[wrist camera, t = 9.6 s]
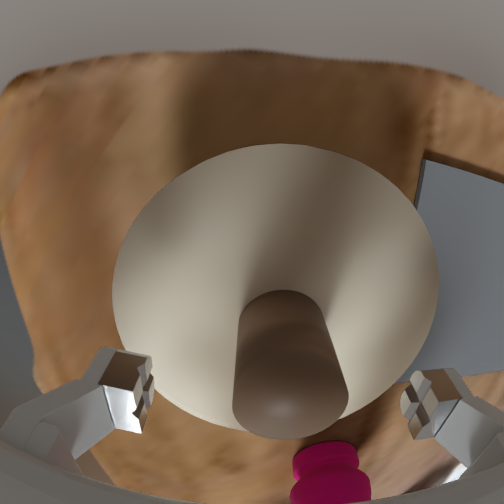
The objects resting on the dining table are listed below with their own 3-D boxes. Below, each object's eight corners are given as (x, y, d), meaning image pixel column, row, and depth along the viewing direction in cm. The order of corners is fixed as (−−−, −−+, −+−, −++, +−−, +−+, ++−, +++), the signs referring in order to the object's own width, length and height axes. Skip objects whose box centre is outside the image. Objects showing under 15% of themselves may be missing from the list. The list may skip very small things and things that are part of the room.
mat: (560, 207, 17) (564, 208, 16) (500, 367, 22) (503, 370, 22) (422, 158, 16) (426, 159, 16) (360, 379, 22) (362, 384, 21)
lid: (458, 176, 11) (546, 208, 6) (376, 416, 15) (401, 487, 10) (119, 132, 10) (34, 139, 5) (137, 402, 15) (110, 477, 10)
